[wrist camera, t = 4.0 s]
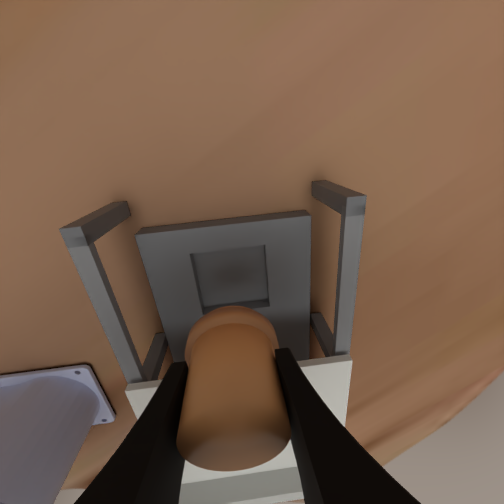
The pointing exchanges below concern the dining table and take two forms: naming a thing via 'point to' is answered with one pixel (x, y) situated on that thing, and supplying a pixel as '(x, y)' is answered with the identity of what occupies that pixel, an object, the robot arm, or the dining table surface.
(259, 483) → the lid
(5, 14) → the dining table surface
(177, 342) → the grey base stand
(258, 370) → the brown round cylinder
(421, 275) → the dining table surface
